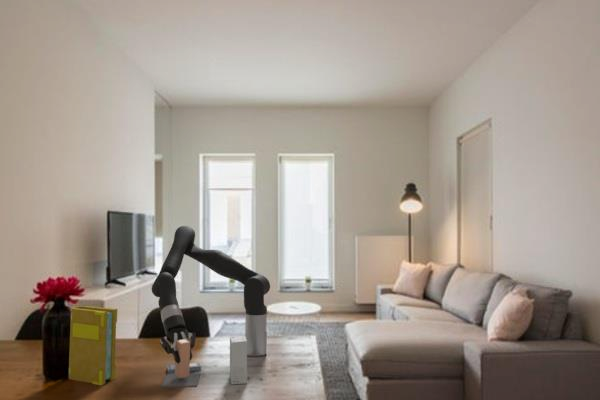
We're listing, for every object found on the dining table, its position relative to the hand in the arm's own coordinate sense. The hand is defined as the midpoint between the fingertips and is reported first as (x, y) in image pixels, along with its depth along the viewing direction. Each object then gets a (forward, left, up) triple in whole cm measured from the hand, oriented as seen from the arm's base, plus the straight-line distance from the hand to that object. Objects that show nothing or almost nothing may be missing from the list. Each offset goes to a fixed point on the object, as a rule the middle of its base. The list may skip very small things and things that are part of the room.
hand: (184, 360), depth 153 cm
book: (+34, -6, -8) cm, 35 cm away
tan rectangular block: (+1, -2, -5) cm, 6 cm away
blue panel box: (+2, -12, -7) cm, 14 cm away
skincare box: (-19, 0, -8) cm, 21 cm away
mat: (+1, -2, -7) cm, 8 cm away
